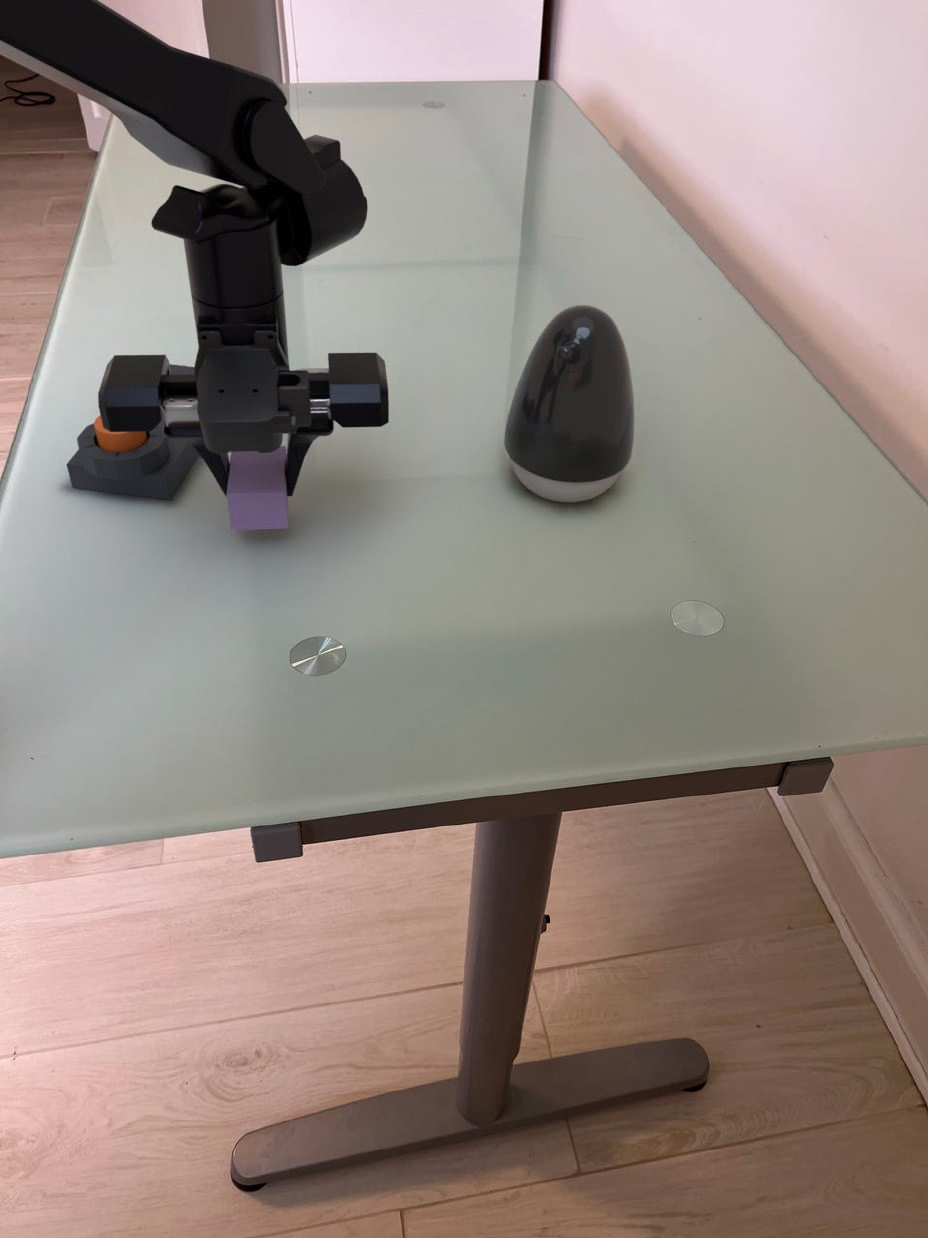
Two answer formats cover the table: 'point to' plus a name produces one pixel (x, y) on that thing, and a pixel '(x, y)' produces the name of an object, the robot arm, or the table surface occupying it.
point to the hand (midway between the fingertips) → (259, 494)
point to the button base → (134, 462)
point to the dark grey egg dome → (573, 408)
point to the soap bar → (258, 490)
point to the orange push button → (118, 438)
